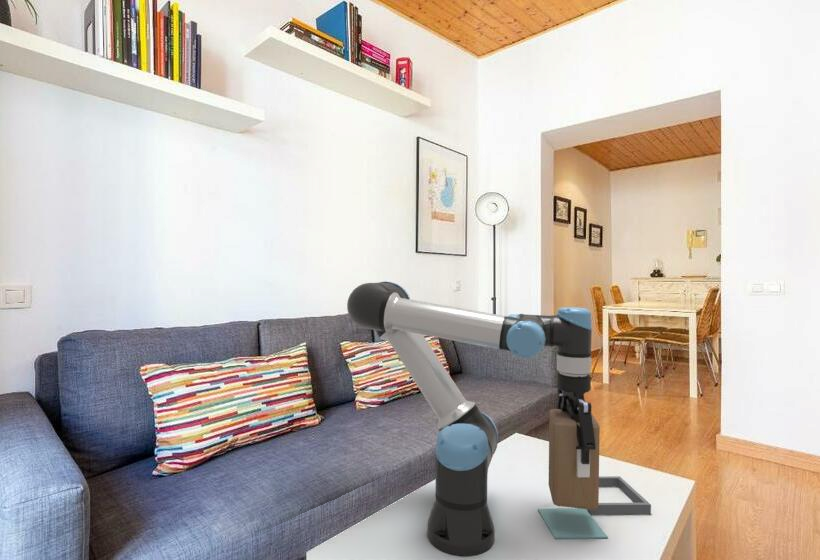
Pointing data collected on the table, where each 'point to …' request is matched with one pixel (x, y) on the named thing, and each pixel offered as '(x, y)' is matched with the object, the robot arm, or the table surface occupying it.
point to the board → (571, 523)
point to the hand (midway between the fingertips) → (572, 465)
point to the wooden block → (571, 464)
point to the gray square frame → (634, 508)
